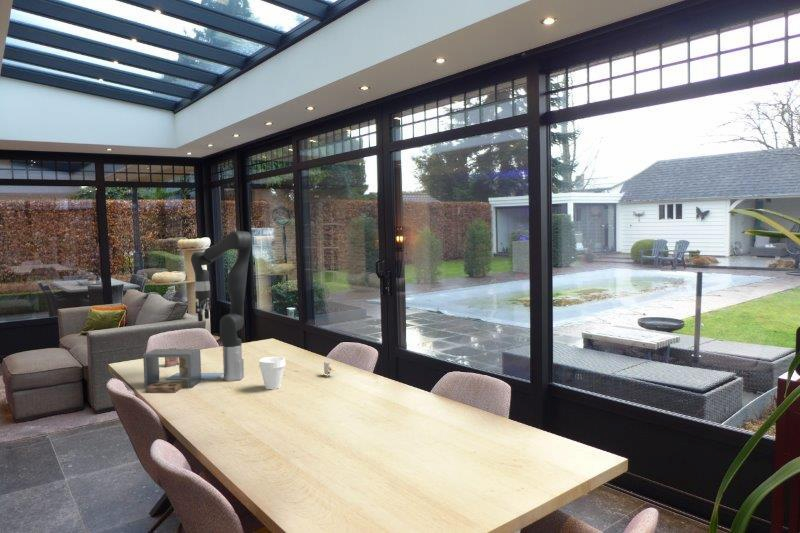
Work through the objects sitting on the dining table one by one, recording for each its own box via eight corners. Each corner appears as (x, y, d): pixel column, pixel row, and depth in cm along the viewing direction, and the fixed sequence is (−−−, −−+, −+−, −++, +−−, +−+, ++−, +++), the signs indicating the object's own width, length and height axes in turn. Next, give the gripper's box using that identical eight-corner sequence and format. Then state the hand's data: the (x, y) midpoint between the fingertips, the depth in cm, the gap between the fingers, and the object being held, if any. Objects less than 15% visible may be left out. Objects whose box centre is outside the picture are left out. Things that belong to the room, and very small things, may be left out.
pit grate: (181, 388, 270) (181, 383, 269) (175, 392, 263) (174, 387, 262) (153, 388, 270) (153, 383, 270) (145, 392, 263) (145, 387, 263)
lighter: (166, 367, 312) (166, 349, 311) (163, 366, 314) (162, 349, 313) (180, 364, 318) (179, 347, 318) (176, 363, 321) (176, 346, 320)
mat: (224, 373, 296) (224, 372, 296) (216, 379, 284) (216, 378, 284) (176, 373, 298) (176, 372, 298) (166, 379, 286) (166, 378, 286)
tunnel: (201, 381, 282) (200, 348, 281) (191, 388, 270) (190, 354, 269) (156, 381, 283) (155, 349, 282) (144, 388, 271) (143, 354, 270)
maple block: (191, 375, 292) (191, 354, 292) (188, 377, 288) (187, 356, 287) (183, 375, 293) (182, 354, 292) (179, 377, 288) (178, 356, 288)
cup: (279, 391, 262) (278, 362, 261) (255, 390, 264) (254, 362, 263) (290, 384, 274) (289, 356, 273) (266, 383, 276) (265, 356, 275)
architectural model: (330, 374, 293) (330, 360, 293) (335, 377, 287) (335, 363, 286) (324, 375, 291) (323, 361, 291) (328, 378, 285) (328, 364, 285)
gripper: (204, 291, 291) (205, 322, 292) (214, 288, 305) (215, 317, 306) (190, 291, 291) (191, 322, 292) (201, 288, 305) (202, 317, 307)
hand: (203, 319), depth 299 cm, fingers open, 8 cm apart
